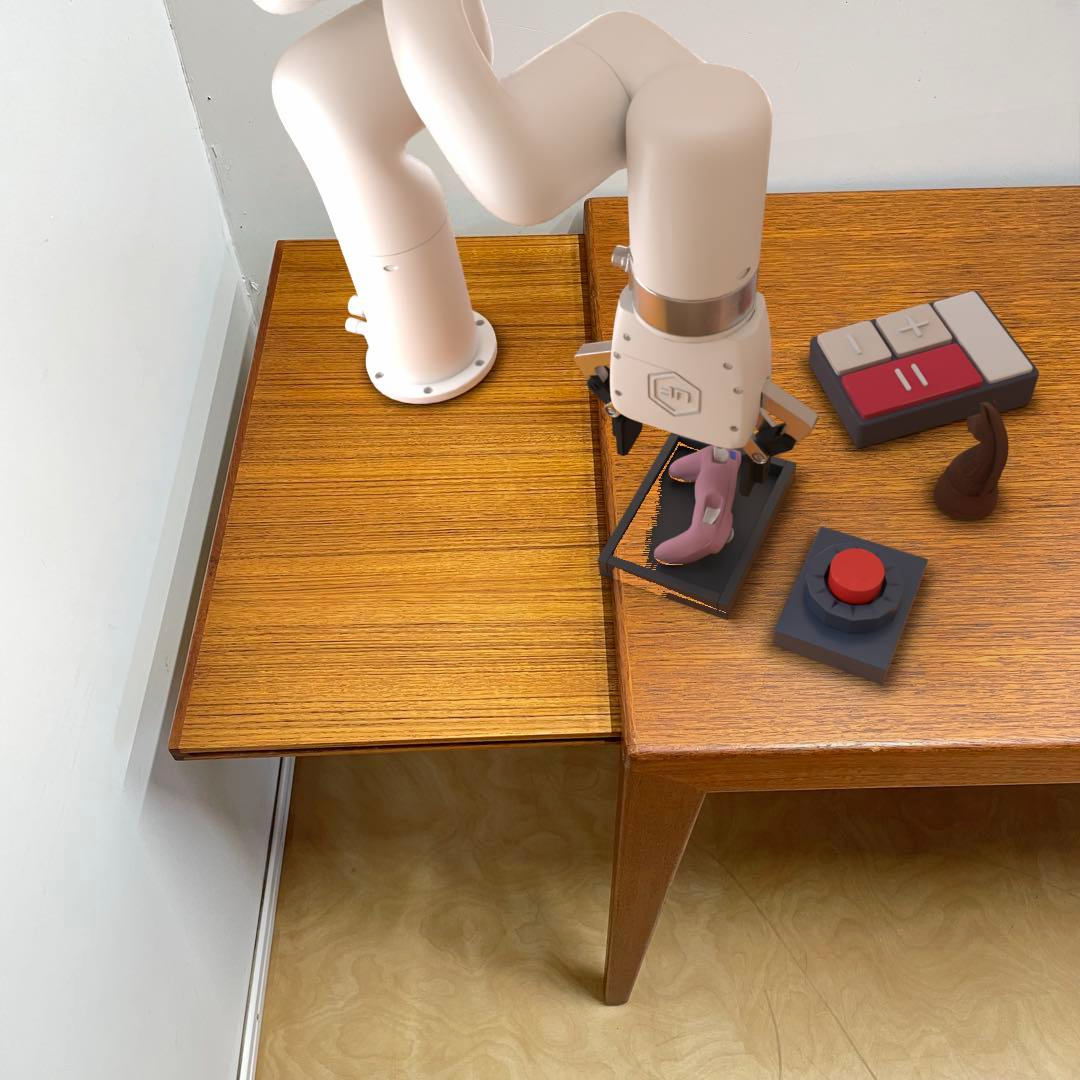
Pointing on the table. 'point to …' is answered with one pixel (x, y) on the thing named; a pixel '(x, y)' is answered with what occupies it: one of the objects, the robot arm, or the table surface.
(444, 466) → the table surface
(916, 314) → the calculator
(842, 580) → the button
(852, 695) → the table surface
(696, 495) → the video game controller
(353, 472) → the table surface
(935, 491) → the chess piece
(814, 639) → the button base
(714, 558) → the tray
